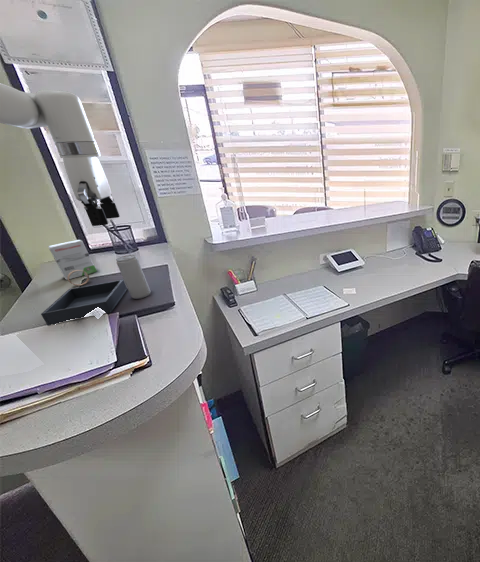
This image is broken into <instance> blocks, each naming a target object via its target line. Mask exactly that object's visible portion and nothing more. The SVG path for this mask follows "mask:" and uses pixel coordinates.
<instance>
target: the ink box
mask: <svg viewBox="0 0 480 562" xmlns="http://www.w3.org/2000/svg"><path fill="white" fill-rule="evenodd" d="M47 247H48V249H49V251H50V253H51V255H52V257H53V259H54V261H55V263H56V265H57V266H58V268H59V270H60V272H61V274H62V276H63V278H64V279H65V280H66V281H68V278H67V277H68V274H69V273H70V272H72V271H74V270H82V271H76V272H73V273H72V274H71V275H70V277H69V279H70V280H71V279H75V278H76V279H77V278H79V277H82V276H85V275H84V272H83V271H85V272H86V273H87V274H88V275H89V274H93V273H97V272H98V270H97V268H96V265H95V264H94V262H93V259H92V258H91V255H90V253H89V252H88V249H87V247H86V246H85V244H84V242H83V240H82V239H75V240H71V241H70V240H69V241H66V242H61V243H56V244H52V245H51V244H50V245H48V246H47Z"/></svg>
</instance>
